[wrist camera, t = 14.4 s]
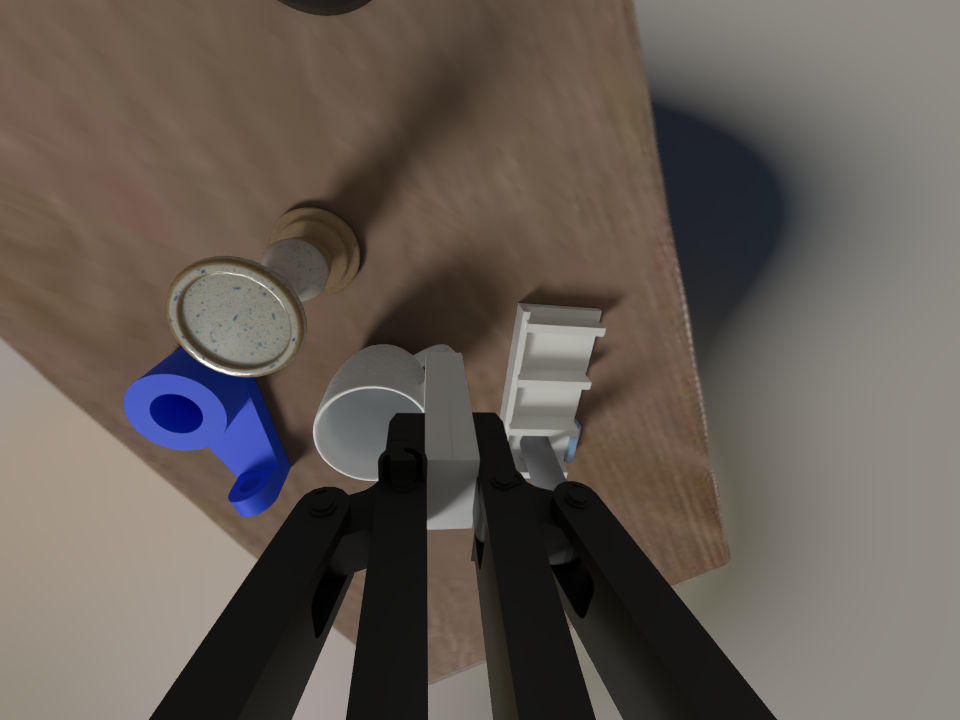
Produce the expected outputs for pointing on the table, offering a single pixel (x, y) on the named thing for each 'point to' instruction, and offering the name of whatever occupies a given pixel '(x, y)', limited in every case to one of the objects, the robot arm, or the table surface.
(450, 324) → the table surface
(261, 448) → the bracket
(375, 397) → the mug
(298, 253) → the candle holder
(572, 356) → the white compartment tray
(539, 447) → the two-tone capped cylinder
